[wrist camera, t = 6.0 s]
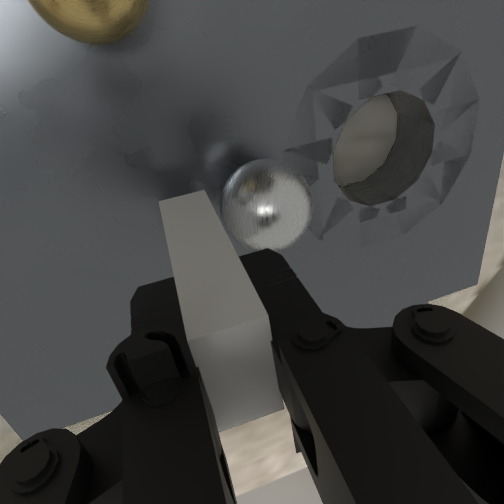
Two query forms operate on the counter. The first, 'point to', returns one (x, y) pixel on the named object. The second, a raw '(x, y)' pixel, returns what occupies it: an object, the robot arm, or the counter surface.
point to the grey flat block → (231, 166)
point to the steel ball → (266, 205)
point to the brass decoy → (92, 18)
